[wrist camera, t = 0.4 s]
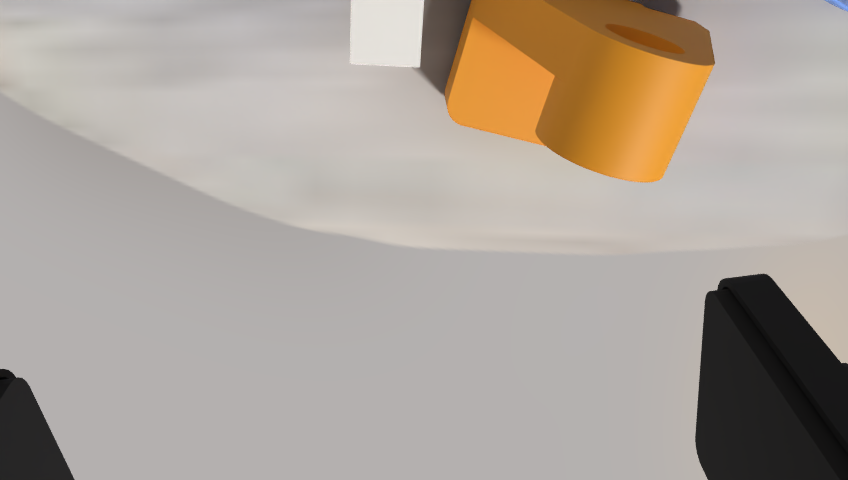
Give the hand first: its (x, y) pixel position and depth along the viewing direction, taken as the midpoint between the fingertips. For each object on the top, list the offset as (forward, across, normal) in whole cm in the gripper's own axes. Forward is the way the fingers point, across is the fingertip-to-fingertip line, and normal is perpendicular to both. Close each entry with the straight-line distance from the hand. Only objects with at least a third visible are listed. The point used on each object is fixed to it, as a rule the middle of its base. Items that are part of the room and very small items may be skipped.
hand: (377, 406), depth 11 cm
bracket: (+30, -8, +5) cm, 31 cm away
